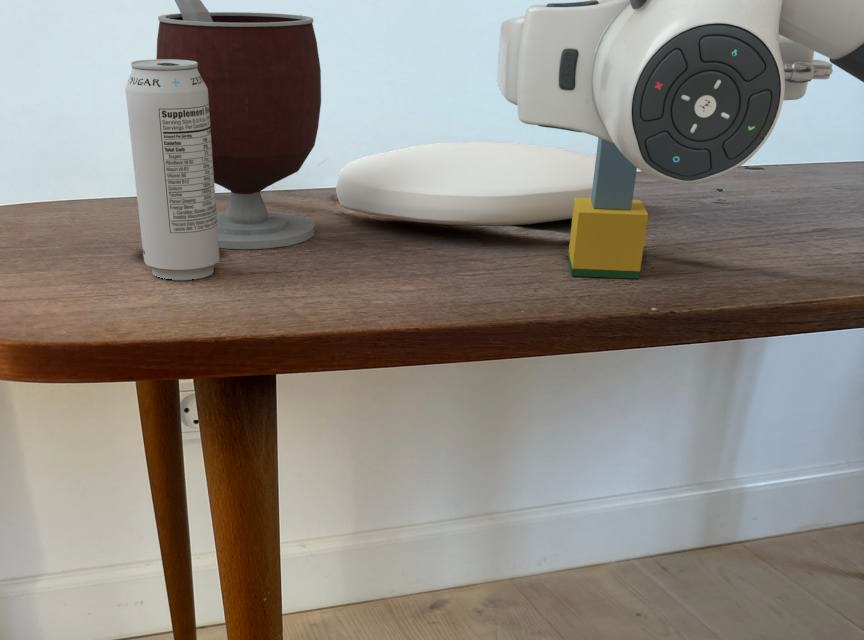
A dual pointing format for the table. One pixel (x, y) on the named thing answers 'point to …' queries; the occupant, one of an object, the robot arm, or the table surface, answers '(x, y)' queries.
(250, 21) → the mate gourd
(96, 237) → the table surface
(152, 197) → the energy drink can
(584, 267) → the dish wand
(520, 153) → the plate
